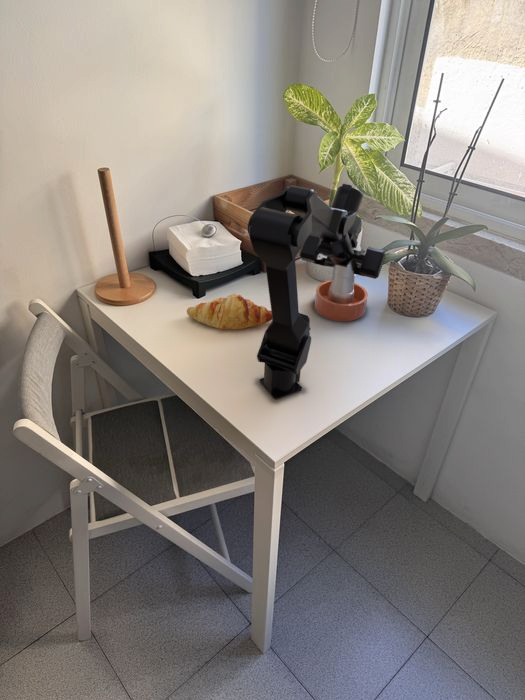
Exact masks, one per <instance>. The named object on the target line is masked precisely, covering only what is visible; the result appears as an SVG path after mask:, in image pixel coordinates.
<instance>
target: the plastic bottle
mask: <svg viewBox="0 0 525 700" xmlns="http://www.w3.org/2000/svg"><path fill="white" fill-rule="evenodd" d="M358 239H359V237H358V238H357V242H358ZM353 250H357V251H361V250H362V247H361V245H360V243H359V242H358V244H357V247H356V248H354V249H353ZM356 265H357V264H356V261H352V260H351V261H350V264H348V265H347V267H343V266H339V265H335V264H334V267H333V271H332V277H331V280H332V281H331V285H330V288H329V291H328V300H329V301H331V302H334V303H339V304H352V302H353V299H354V283H355V278H356V274H354V270H355V268H356Z"/></svg>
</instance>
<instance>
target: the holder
mask: <svg viewBox="0 0 525 700" xmlns="http://www.w3.org/2000/svg"><path fill="white" fill-rule="evenodd" d="M331 281H332V279H329V280H326V281H325V280H324V281H323V282H321V283H319V284H318V285H317V286H316V289H315V296H314V309H315V311H316V312H317V313H318V314H319V315H320V316H322V317H323V318H326V319H328V320H331V321H334V322H335V321H337V322H352V321H355V320H358V319H360V318H362V317H363V316H364V314H365V312H366V307H367V302H368V297H369V294H368V291H367V290H366V288H365V287H363V286H362V285H361V284H359V283H356V282H354V299H353V302H352V304H339V303H334V302H331V301H329V300H328V291H329V288H330V285H331Z"/></svg>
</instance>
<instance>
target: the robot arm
mask: <svg viewBox="0 0 525 700" xmlns="http://www.w3.org/2000/svg"><path fill="white" fill-rule="evenodd" d="M363 199H364V193H362V192H361V191H360V190H359V189H356V188H355V187H353V184H349V183H342V184H341V186H338V187H337V188H336V191H335V193H334V197H333V199H332V202H331V205H329V204H327V202H326V201H324V200H323V199H322V198H321V197H320V196H319V195H318V192H317V191H314V189H311V188H307V187H303V186H297V185H293V184H291V185H290V186H289V185H287V186H286V187H284V189H283V190H282V191H281V193H278V194H276V195H274V196H272V197H270V198H267V199H265V200H263V201H261V203H260V204H259V206H258V207H257V208H256V209H255V210H254V212H253V213H251V216H250V217H249V219H248V223H247V233H248V237H249V241H250V243H251V247H252V250H253V252H254V253H255V254H256V255H257V257H259V259H260V260H261V261H262V262H263V263H264V266H265V273H266V280H267V289H268V295H269V296H268V297H269V304H270V311H272V319H273V320H271V321H270V323H269V325H268V326H267V328H266V329H265V330H264V334H263V337H262V340H261V342H260V343H261V344H260V345H259V349H258V352H257V354H256V359H257V362H259V363H263V364H264V369H263V371H264V372H263V377H262V378H259V384H261V386H262V387H263V388H264V389H265V390H266V392H267V393H268V394H269V395H270V396H271V398H272V399H274V400H280V399H282V398H286V397H287V396H290V395H293V394H296V393H298V392H301V391H302V390H303V387H302V386H301V384H300V381H301V380H300V379H301V370H302V369H303V368H304V366H305V365H306V363H307V361H308V356H309V352H310V348H311V343H312V336H311V332H310V331H311V327H310V326H311V325H310V320H311V319H310V317H309V315H308V314H305V313H300V312H299V295H298V294H299V293H298V281H297V280H298V279H297V266H296V257H297V255H299V257H300V259H301V261H303V262H307V263H313V264H315V265H318V266H323V267H329V268H334V264H335V265H339V266H343V267H347V265H348V264H350V261H351V260H352V261H356V264H357V265H356V268H355V270H354V274H355V275H356V276H360V277H367V278H371V279H374V280H376V279H378V278H379V276H380V274H381V271H382V268H383V265H384V263H385V259H386V252H385V250H384V249H381V248H376V247H371V246H368V247H367V248H366V249H364V248H363V249H362V248H361V251H357V250H353V249H354V248H356V247H357V244H358V243H359V242H357V241H358V239H359V235H360V233H361V231H362V220H363V219H362V217H360V216H358V212H359V211H360V210H359V209H360V207H361V204H362V201H363ZM357 238H358V239H357Z"/></svg>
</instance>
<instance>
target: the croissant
mask: <svg viewBox="0 0 525 700" xmlns="http://www.w3.org/2000/svg"><path fill="white" fill-rule="evenodd" d="M186 314H187V316H189V317H190V318H192V319H194V320H196V321H197V322H199V323H200V324H204V325H206V326H208V327H212V328H216V329H219V330H242V329H246V328H250V327H251V328H252V327H257V326H261V325H265V324H267V323H269V322H271V321H272V320H273V319H272V311H271V310H270V309H269V310H268V309H267V308H266V307H265V306H263V305H257V304H256V303H254V302H253V301H251V299H246V298H244V296H242V295H241V294H238V293H232V294H230V295H227V297H219V298H215V299H212V300H210V301H207V302H201V303H198V304H196V305H194V306H189V307H188V308H187V309H186Z"/></svg>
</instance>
